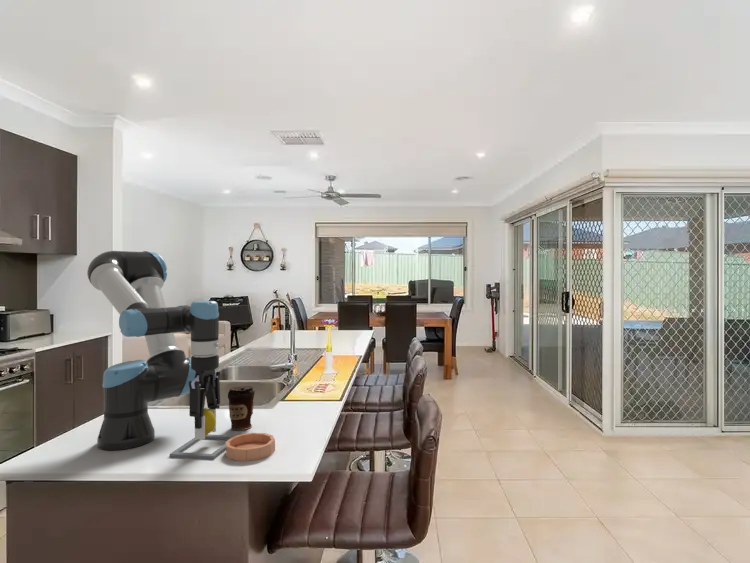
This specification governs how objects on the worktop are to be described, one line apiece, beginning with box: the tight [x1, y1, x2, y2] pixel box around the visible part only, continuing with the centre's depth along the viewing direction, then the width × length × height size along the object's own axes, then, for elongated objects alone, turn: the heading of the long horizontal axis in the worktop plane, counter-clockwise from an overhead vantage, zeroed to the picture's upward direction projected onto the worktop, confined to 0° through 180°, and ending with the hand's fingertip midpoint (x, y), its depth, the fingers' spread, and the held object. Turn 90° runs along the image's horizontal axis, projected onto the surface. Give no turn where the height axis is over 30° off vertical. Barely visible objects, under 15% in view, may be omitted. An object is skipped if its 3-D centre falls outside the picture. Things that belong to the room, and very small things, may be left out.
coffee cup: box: [227, 385, 256, 431], centre depth 151 cm, size 9×8×13 cm
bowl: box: [225, 432, 276, 462], centre depth 130 cm, size 13×13×3 cm
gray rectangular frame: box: [169, 433, 236, 460], centre depth 134 cm, size 13×16×1 cm
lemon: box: [203, 407, 215, 436], centre depth 134 cm, size 6×6×8 cm
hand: (205, 434), depth 134 cm, fingers closed on lemon, 5 cm apart
